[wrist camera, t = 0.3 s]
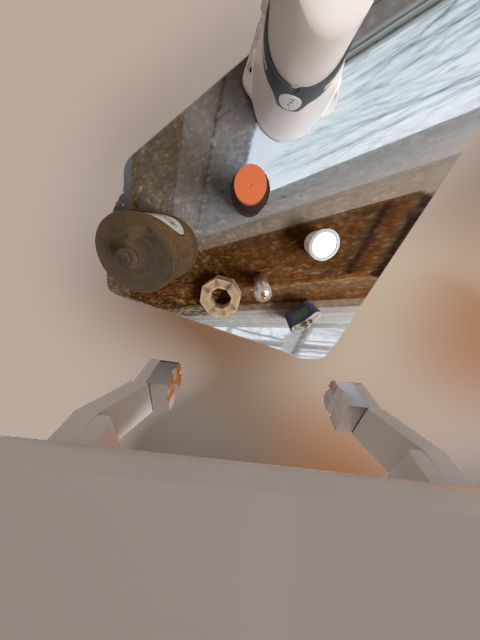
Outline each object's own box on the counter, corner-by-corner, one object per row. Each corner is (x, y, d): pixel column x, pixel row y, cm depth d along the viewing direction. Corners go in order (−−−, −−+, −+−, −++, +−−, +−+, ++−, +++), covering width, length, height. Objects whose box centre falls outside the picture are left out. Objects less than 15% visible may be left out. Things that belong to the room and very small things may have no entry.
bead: (206, 272, 53) (203, 275, 49) (244, 281, 54) (243, 285, 50) (201, 306, 58) (198, 311, 54) (235, 314, 59) (234, 320, 55)
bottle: (232, 212, 46) (222, 204, 28) (239, 180, 43) (233, 147, 25) (258, 220, 47) (265, 217, 29) (267, 188, 44) (280, 163, 26)
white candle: (255, 271, 52) (257, 287, 39) (269, 275, 53) (275, 291, 39) (251, 285, 54) (252, 304, 41) (264, 288, 55) (270, 308, 41)
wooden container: (192, 212, 46) (151, 202, 27) (203, 271, 53) (176, 298, 34) (136, 218, 48) (57, 213, 28) (153, 275, 54) (100, 304, 35)
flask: (309, 297, 55) (321, 312, 46) (314, 304, 56) (327, 320, 47) (283, 314, 58) (289, 332, 49) (288, 321, 59) (295, 339, 50)
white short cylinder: (296, 247, 49) (302, 251, 43) (313, 222, 46) (323, 222, 40) (316, 261, 51) (325, 266, 44) (334, 237, 48) (346, 239, 41)
